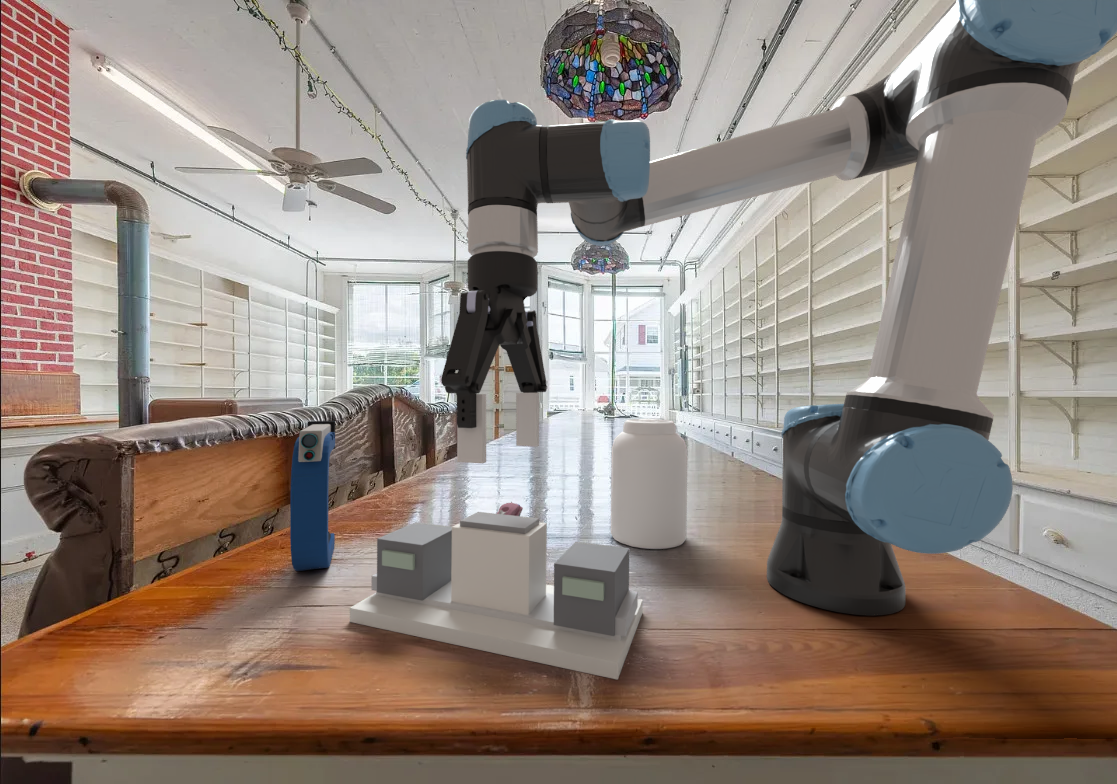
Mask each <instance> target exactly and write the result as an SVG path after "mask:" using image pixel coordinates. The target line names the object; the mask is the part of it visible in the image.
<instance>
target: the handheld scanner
mask: <svg viewBox="0 0 1117 784" xmlns="http://www.w3.org/2000/svg"><path fill="white" fill-rule="evenodd" d="M335 449H336V421H335V420H309V421H307V425H306V427H305V428H303V429H302V430H300V431H299V436H298V437H297V438H296V440H295V441H294V443H293V451H292V458H291V471H290V505H289V507H290V513H289V514H290V515H289V516H290V519H289V520H290V521H289V522H290V523H289V524H290V525H289V526H290V527H289V528H290V529H289V531H290V533H289V535H290V537H289V538H290V540H289V541H290V542H289V543H290V557H291V558H290V559H291V563H292V568H293V570H294V571H296V572H301V571H310V570H317V569H319V570H320V569H327V568H330V566H331V563H332V559H333V554H334V550H335V544H336V543H335V542H336V540H335V535H336V534H335V533H333V532H332V533H330V531H329V489H330V488H329V478H330V477H329V476H330V472H329V471H330V458H331V453H332V452H333V450H335Z"/></svg>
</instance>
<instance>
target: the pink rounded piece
mask: <svg viewBox="0 0 1117 784" xmlns="http://www.w3.org/2000/svg"><path fill="white" fill-rule="evenodd" d="M522 511H523V507H522V506H521V505H520V504H519V503H514V502H512V501H510V502H506V503H503V504H501V506H499V509H498V511H497V512H496V513H495V514H503V515H513V516H521V514H522Z"/></svg>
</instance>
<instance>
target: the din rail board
mask: <svg viewBox="0 0 1117 784" xmlns="http://www.w3.org/2000/svg"><path fill="white" fill-rule="evenodd" d="M452 527H453V526H451V525H450V526H449V525H441V524H433V523H425V522H417V521H416V522H412V523H411V524H408V525H406V526H403V527H401V528H399V529H397V530H394V531H393V532H390V533H387V534H385V535H383V536H381V537H377V539H376V543H377V544H376V573H374V574H372V575H371V591H375V592H374V593H373V594H371V595H369V596H367V597H366V598H364V599H363V600H360V601H359V602H357V603H355V604H354V605H352V606H351V607H349V623H354V624H358V625H362V626H368V627H372V628H377V629H381V630H386V631H389V632H395V633H399V634H405V635H409V636H415V637H418V638H423V639H428V640H432V641H436V642H440V643H445V644H451V645H455V646H458V647H459V646H461V647H465V648H470V649H474V650H479V651H484V652H488V653H493V654H497V655H501V656H502V655H503V656H507V657H511V658H514V659H519V660H523V661H529V662H533V663H538V664H543V665H549V666H552V667H557V668H561V669H562V668H563V669H565V670H571V671H576V672H580V673H585V674H590V675H594V676H598V677H599V676H600V677H604V678H609V679H612V680H619V677H620V675H621V673H622V669H623V666H624V664H625V661H626V659H627V655H628V653H629V651H630V649H631V644H632V642H633V639H634V637H635V634H636V632H637V629H638V626H639V623H640V620H641V618H642V615H643V609H644V608H643V607H644V606H643V605H644V603H643V602H644V601H643V599H642V598H638V597H639V594H638V593H639V592H638V591H635V590H630V547H622V546H616V545H607V544H599V543H591V542H581V541H580V542H579V541H575V542H573V544H572V545H570V547H569V548H567V550H566V551H565V552H564V553H563V554H561V556H559V558H558V559H557V560H556V561H555V562H554V564H553V585H551V584H547V583H546V596H545V597H544V598H543V599H542V600H541V601H540V603H539V604H538V605H537V606H536V607H535V608H534V609H533V611H532V612H531V613H530V614H529V615H525V614H519V613H514V612H508V611H503V610H497V609H492V608H486V607H480V606H475V605H469V604H464V603H458V602H453V601H451V566H452Z"/></svg>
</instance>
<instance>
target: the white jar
mask: <svg viewBox="0 0 1117 784" xmlns="http://www.w3.org/2000/svg"><path fill="white" fill-rule="evenodd" d="M675 424H676V423H675V422H674V421H673V420H670V419H660V418H659V419H658V418H629V419H626V420H625V421H624V423H623V427H622V431H621V432H620V433H619V434H618V435H617V436H616V437H615V438H614V439H613V443H612V446H611V461H610V462H611V469H610V471H611V472H610V473H611V477H610V478H611V481H610V483H611V484H610V487H611V488H610V492H611V493H610V534H611V536H612V538H613V539H614V540H615V541H617V542H619V543H620V544H623V545H625V546H626V545H627V546H630V547H634V548H637V549H638V548H640V549H645V550H646V549H647V550H649V549H650V550H662V549H663V550H665V549H671V548H676V547H679V546H681V545H683V543H685V541H686V539H687V530H688V529H687V528H688V527H687V526H688V525H687V522H688V521H687V519H688V517H687V516H688V512H687V511H688V452H689V451H688V448H687V444H686V441H685V440H684V438H683V437H682V436H680V434H679V433H677V426H676V425H675Z"/></svg>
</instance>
